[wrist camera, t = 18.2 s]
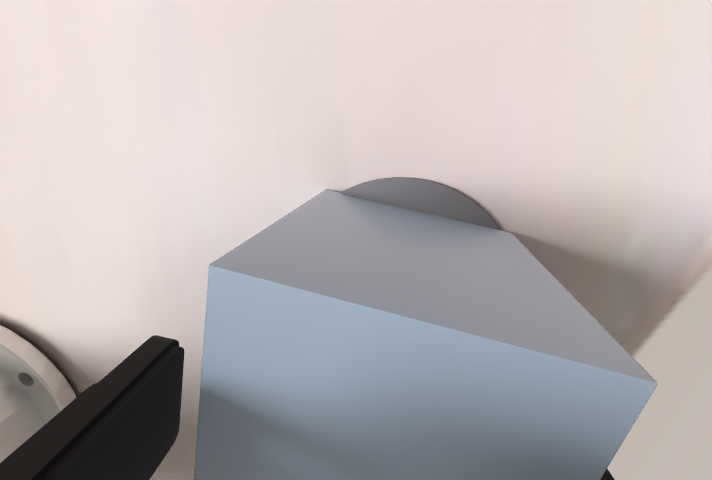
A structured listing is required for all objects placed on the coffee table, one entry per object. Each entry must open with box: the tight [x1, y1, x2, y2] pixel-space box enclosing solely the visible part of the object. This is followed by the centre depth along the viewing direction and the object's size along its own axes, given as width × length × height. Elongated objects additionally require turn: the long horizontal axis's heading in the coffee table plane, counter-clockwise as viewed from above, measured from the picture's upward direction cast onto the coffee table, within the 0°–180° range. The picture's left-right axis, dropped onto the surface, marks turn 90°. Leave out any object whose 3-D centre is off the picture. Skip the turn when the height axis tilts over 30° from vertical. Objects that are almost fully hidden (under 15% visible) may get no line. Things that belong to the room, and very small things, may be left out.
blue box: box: [194, 189, 658, 480], centre depth 11 cm, size 8×8×9 cm
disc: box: [340, 177, 500, 230], centre depth 15 cm, size 10×10×1 cm
